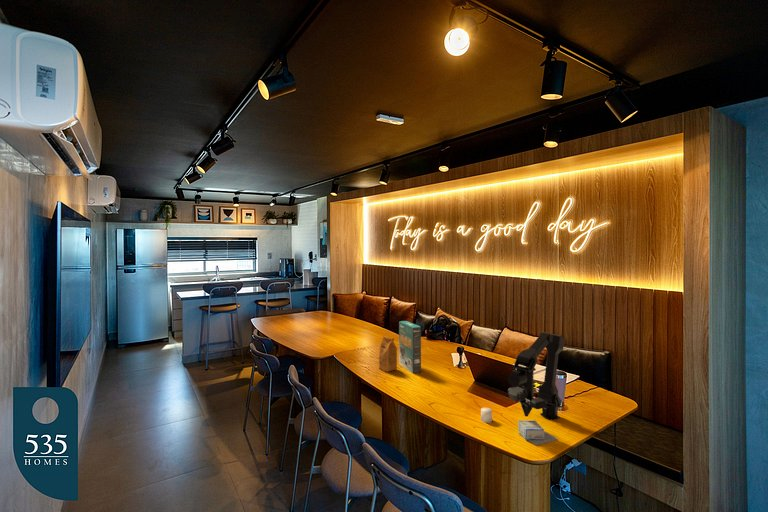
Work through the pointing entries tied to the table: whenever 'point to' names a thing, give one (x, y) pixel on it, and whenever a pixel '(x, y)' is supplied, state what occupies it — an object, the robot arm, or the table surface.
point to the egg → (486, 415)
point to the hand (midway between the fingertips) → (526, 416)
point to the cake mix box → (410, 346)
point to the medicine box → (531, 430)
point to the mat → (546, 439)
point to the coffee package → (388, 355)
